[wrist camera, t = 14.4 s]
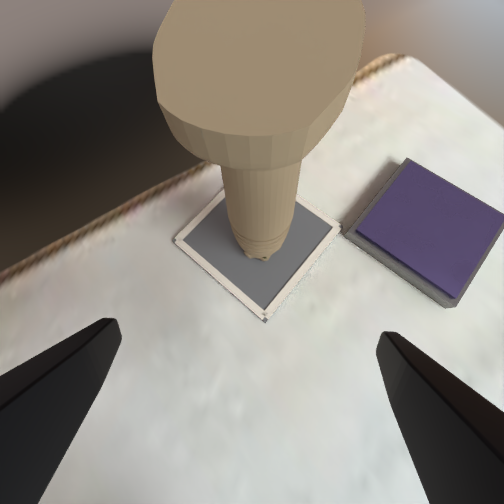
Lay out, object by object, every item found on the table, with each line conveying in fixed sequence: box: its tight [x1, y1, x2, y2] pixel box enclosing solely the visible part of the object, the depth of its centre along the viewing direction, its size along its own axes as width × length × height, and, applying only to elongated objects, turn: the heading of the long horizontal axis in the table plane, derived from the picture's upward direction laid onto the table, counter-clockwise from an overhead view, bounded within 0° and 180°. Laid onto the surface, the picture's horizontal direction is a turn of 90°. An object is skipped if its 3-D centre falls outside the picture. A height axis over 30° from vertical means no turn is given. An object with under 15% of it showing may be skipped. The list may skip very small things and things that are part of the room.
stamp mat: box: [173, 189, 343, 323], centre depth 21 cm, size 10×10×1 cm
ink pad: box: [344, 158, 504, 308], centre depth 20 cm, size 9×9×1 cm
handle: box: [153, 0, 365, 261], centre depth 13 cm, size 5×6×15 cm
